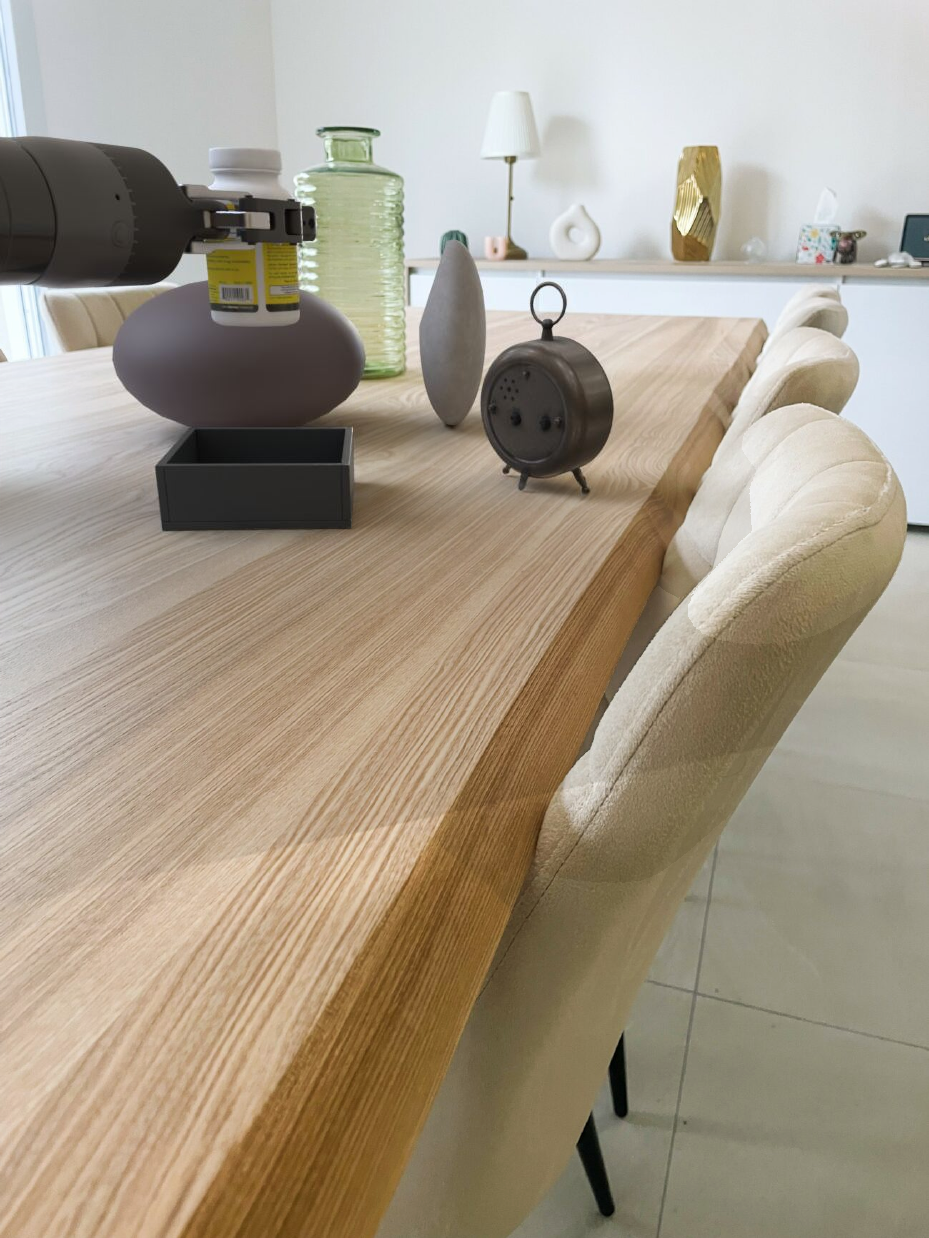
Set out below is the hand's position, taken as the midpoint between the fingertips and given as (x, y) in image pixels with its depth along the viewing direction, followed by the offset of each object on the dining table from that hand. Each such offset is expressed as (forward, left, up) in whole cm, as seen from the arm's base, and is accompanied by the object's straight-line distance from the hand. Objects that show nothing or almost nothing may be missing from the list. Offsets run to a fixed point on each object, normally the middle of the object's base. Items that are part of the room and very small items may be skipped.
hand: (271, 223), depth 65 cm
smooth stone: (-13, +24, -20) cm, 34 cm away
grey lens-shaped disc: (+7, +33, -20) cm, 40 cm away
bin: (-1, -2, -20) cm, 20 cm away
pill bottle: (-1, -2, -7) cm, 7 cm away
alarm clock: (+19, +8, -20) cm, 29 cm away
